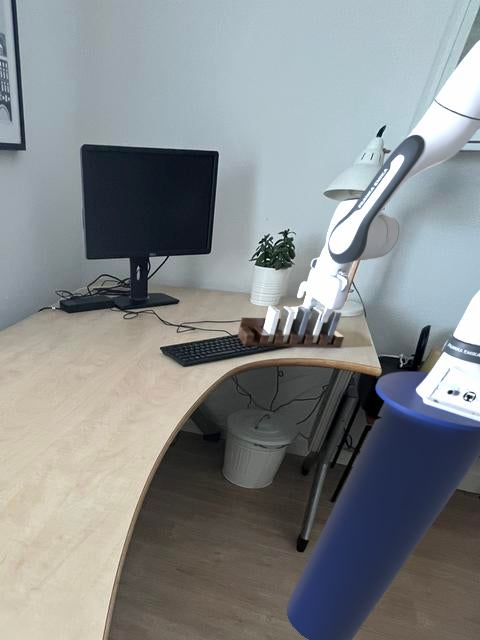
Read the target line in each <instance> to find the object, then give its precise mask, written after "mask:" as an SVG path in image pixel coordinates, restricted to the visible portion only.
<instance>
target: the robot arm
mask: <svg viewBox="0 0 480 640" xmlns="http://www.w3.org/2000/svg"><path fill="white" fill-rule="evenodd" d="M479 129H480V39H479V40H477V42H476V43H474V45H473V46H472V48H470V50H469V51H468V53H466V55H465V56H464V57H463V58H462V60H461V61H460V62H459V63H458V65H457V66H456V68H455V69H454V71H453V72H452V73H451V75H450V76H449V77H448V79H447V80H446V82H445V83H444V84H443V86H442V87H441V89H440V91H439V92H438V93H437V95H436V96H435V99H434V100H433V102H432V103H431V104H430V106H429V107H428V109H427V111H426V112H425V114H423V116H422V117H421V119H420V120H419V121H418V122H417V124H416V125H415V127H414V128H413V129H412V131H410V133H409V134H408V135H407V136H406V137H405V139H404V140H403V141H401V143H399V144H398V146H397V147H395V149H394V150H393V151H392V152H391V154H390V155H389V156H388V158H387V159H386V161H384V163H383V165H382V166H381V167H380V168H379V170H378V171H377V173H376V174H375V175H374V176H373V178H372V180H371V181H370V183H368V185H367V187H366V188H365V190H364V191H363V193H362V194H361V196H360V197H359V196H358V197H350V198H345V199H343V200H342V201H341V202H340V203H339V204H338V205H337V207H336V209H335V211H334V213H333V215H332V218H331V220H330V224H329V227H328V230H327V233H326V240H325V245H324V247H323V248H322V250H321V252H320V255H319V256H318V257H316V258H313V259H312V260H311V262H310V268H311V269H310V271H309V274H308V276H307V281H306V282H307V284H306V291H305V293H306V294H307V293H308V294H309V295H310V301H309V309H308V310H309V311H310V312H311V313H312V311H313V307H317V303H318V302H319V303H321V305H323V306H324V311H325V312H324V313H323V315H321V317H320V321H321V322H325V323H326V322H327V321H328V318H329V316H330V315H331V314H332V312H333V311H334V310H338V311H340V310H342V309H343V308H344V306H345V303H346V300H347V297H348V293H349V290H350V283H351V282H350V278H349V274H350V272H351V268H352V265H353V263H354V262H358V261H367V260H372V259H378V258H382V257H384V256H386V255H387V254H389V253H390V252H391V251H392V250H393V248H394V247H395V245H396V244H397V241H398V239H399V235H400V224H399V222H398V220H397V219H396V218H395V217H392V216H389V215H387V214H386V213H384V212H383V211H384V209H385V208H386V207H387V205H388V204H389V203H390V202H391V200H392V199H393V198H394V196H395V195H396V194H397V193H398V192H399V190H400V189H401V188H402V187H403V185H405V184H406V183H407V182H408V181H409V180H411V179H412V178H413V177H415V176H416V175H418V174H420V173H421V172H424V171H426V170H427V169H430V168H432V167H434V166H436V165H439V164H441V163H443V162H446V161H448V160H450V159H452V158H453V157H454V156H456V155H458V153H459V152H460V151H461V150H462V149H463V148H464V147H465V146H466V145H467V144H468V143H469V141H470V140H471V139H472V138H473V137H474V135H475V134H476V133H477V132H478V130H479ZM428 373H429V374H428V375H427V377H426V378H425V379H424V380H423V382H422V383H421V384H420V385H419V386H418V387H417V388H416V392H417V393H418V394H419V395H420V396H421V397H422V398H423V402H424V403H425V404H427V405H430V406H433V407H436V408H439V409H442V410H446V411H449V412H452V413H455V414H458V415H461V416H464V417H467V418H470V419H473V420H476V421H480V290H478V292H477V293H475V295H474V296H473V298H472V299H471V300H470V302H469V304H468V305H467V308H466V310H465V311H464V313H463V315H462V317H461V319H460V321H459V322H458V325H457V326H456V329H455V330H454V332H453V333H451V334H450V336H449V337H448V339H447V340H446V342H445V344H444V345H443V347H442V350H441V352H440V354H439V358H438V360H437V361H436V363H435V364H434V366H433V367H432V369H430V371H429V372H428Z"/></svg>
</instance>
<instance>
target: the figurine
mask: <svg viewBox="0 0 480 640" xmlns="http://www.w3.org/2000/svg"><path fill="white" fill-rule="evenodd" d="M306 284H307V281H305V280H304V281H302V282H301V283H300V285H299V288H298V292H297V295H296V298H298V299H302V298H303V297H304V295H305V297H304V299H303V300H304V301H303V304H299V305H294V306H290V307H291V308H292V309H293V310H294V311H295V312H296V313H295V316H294V319H295V318H296V315H297V311H298V308H299V306H300V307H305V308H306V309H309V301H310V295H309V294H308V293H306ZM305 293H306V294H305ZM311 314H312V313H311ZM311 314H310V317H311ZM310 317H309V319H310Z"/></svg>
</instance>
